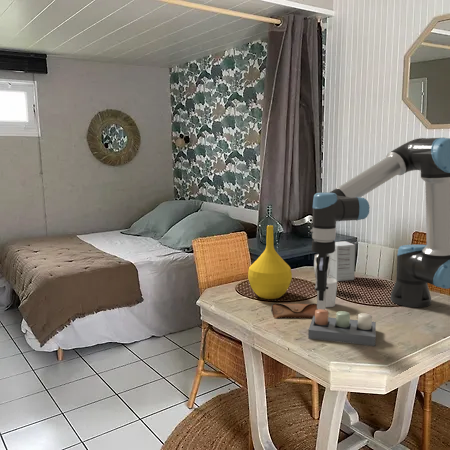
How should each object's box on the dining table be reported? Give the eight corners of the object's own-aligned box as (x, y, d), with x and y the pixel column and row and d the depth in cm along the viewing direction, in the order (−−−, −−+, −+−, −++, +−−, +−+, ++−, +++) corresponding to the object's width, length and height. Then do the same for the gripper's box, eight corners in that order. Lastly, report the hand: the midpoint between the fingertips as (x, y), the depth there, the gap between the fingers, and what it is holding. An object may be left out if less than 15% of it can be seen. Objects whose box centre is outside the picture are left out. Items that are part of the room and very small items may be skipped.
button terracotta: (328, 321, 159) (329, 309, 159) (327, 325, 155) (327, 314, 155) (315, 319, 161) (315, 308, 160) (314, 324, 157) (314, 313, 156)
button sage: (349, 323, 157) (350, 311, 157) (349, 328, 153) (349, 316, 153) (336, 321, 159) (336, 310, 158) (335, 326, 155) (335, 315, 154)
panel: (375, 330, 159) (375, 321, 159) (375, 345, 147) (375, 337, 147) (313, 323, 166) (313, 315, 165) (308, 338, 154) (308, 329, 153)
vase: (300, 296, 195) (301, 226, 190) (266, 305, 185) (267, 231, 179) (272, 286, 210) (272, 220, 204) (239, 294, 199) (238, 225, 194)
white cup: (336, 308, 181) (337, 283, 179) (316, 307, 182) (316, 282, 180) (336, 301, 188) (336, 278, 186) (316, 300, 190) (316, 277, 188)
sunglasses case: (272, 319, 171) (272, 300, 173) (271, 322, 177) (270, 304, 180) (322, 318, 170) (321, 300, 173) (319, 322, 177) (317, 304, 179)
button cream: (371, 325, 155) (372, 313, 155) (371, 330, 151) (372, 318, 150) (357, 324, 157) (358, 312, 156) (357, 328, 152) (357, 317, 152)
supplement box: (354, 280, 217) (356, 244, 214) (336, 281, 215) (337, 246, 212) (345, 274, 226) (346, 240, 224) (327, 276, 224) (328, 241, 221)
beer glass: (331, 287, 206) (332, 254, 204) (326, 292, 200) (327, 258, 198) (317, 285, 210) (317, 253, 207) (311, 289, 204) (311, 256, 201)
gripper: (314, 235, 160) (312, 301, 164) (309, 243, 148) (307, 314, 152) (336, 236, 158) (334, 303, 162) (333, 244, 146) (330, 316, 150)
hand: (321, 308), depth 157 cm, fingers closed
